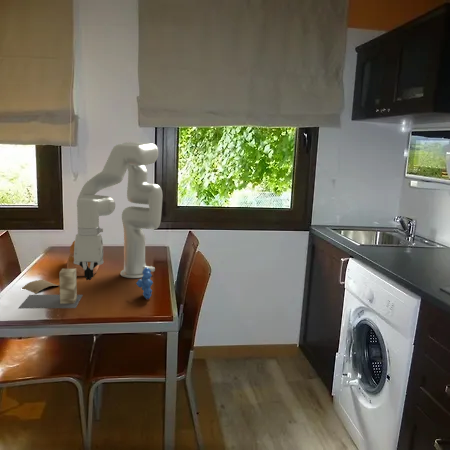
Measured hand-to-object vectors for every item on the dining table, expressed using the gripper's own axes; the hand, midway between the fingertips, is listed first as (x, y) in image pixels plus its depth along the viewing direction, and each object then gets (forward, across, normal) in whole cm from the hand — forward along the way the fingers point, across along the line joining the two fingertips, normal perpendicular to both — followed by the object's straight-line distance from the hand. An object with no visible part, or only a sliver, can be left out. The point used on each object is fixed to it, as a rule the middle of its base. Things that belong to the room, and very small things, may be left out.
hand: (89, 279), depth 165 cm
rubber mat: (+9, +14, 0) cm, 16 cm away
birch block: (+9, +8, 0) cm, 12 cm away
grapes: (+9, -20, -5) cm, 23 cm away
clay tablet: (+10, +22, -16) cm, 29 cm away
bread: (+10, +9, -44) cm, 46 cm away
